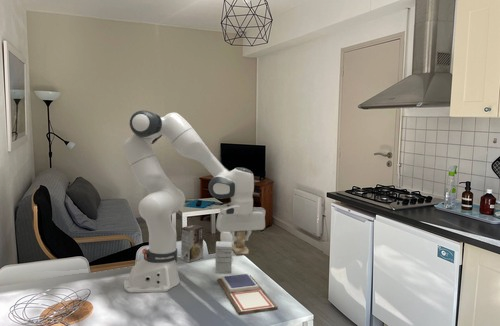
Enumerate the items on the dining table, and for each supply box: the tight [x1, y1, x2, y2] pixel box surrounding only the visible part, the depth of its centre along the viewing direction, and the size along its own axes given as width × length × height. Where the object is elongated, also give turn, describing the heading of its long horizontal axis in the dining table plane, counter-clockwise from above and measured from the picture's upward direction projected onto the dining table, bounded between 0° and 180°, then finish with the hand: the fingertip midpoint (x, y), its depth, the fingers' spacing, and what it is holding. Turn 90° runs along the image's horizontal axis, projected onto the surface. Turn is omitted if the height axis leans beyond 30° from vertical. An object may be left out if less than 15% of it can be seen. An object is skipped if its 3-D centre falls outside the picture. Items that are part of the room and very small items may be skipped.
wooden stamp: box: [232, 231, 250, 257], centre depth 157 cm, size 5×7×9 cm
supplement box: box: [214, 241, 233, 274], centre depth 175 cm, size 7×7×13 cm
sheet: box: [231, 290, 274, 311], centre depth 145 cm, size 13×14×1 cm
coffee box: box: [180, 223, 204, 263], centre depth 188 cm, size 9×6×16 cm
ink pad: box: [220, 273, 260, 292], centre depth 159 cm, size 12×13×2 cm
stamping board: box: [216, 274, 279, 316], centre depth 152 cm, size 15×30×1 cm, turn 19°
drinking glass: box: [219, 231, 235, 255], centre depth 188 cm, size 7×7×15 cm
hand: (240, 240), depth 157 cm, fingers closed on wooden stamp, 3 cm apart
